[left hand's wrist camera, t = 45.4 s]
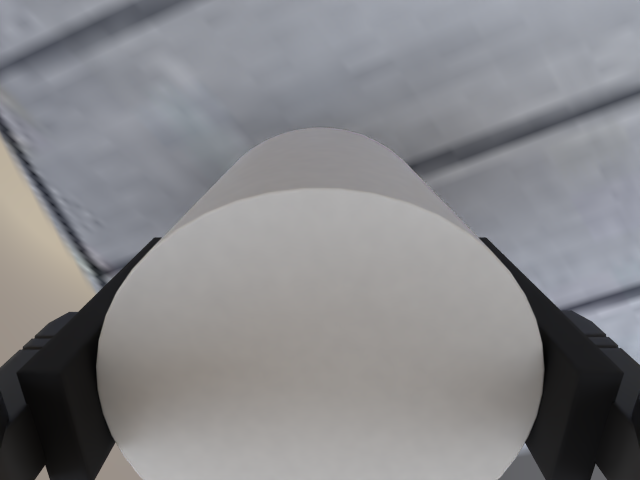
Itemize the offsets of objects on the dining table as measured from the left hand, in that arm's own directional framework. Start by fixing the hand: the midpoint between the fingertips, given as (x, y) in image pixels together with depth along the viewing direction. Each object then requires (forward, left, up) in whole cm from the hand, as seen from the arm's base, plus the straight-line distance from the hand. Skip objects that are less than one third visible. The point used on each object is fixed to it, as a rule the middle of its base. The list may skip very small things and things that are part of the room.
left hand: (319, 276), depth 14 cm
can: (0, 0, -3) cm, 3 cm away
